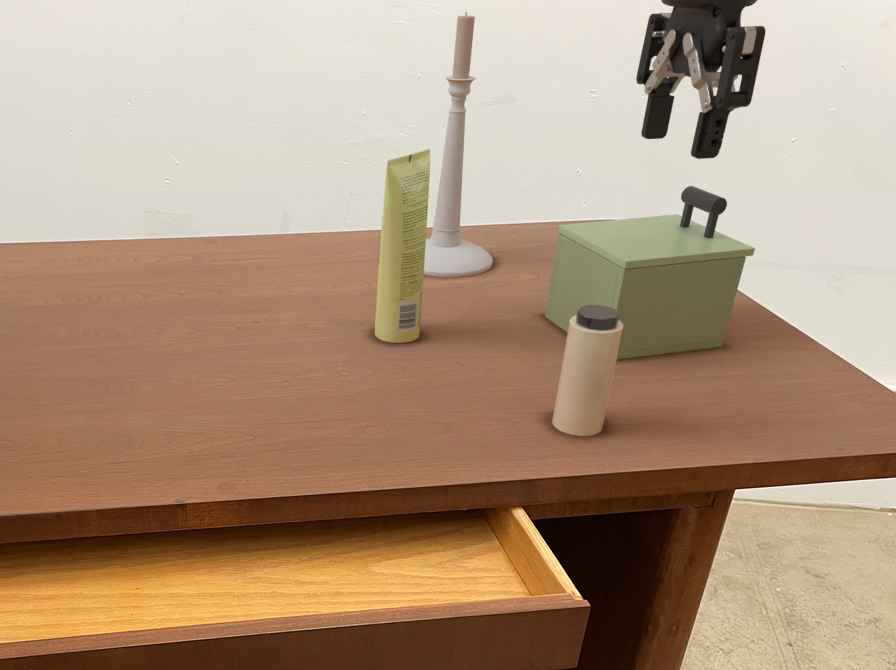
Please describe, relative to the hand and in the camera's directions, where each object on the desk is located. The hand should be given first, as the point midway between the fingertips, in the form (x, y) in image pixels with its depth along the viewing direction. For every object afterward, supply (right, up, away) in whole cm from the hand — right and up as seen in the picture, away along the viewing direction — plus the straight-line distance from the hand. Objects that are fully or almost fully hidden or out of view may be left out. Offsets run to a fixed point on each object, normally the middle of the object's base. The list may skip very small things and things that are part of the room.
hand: (677, 147), depth 83 cm
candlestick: (-13, -1, +40) cm, 42 cm away
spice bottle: (-9, -25, +1) cm, 27 cm away
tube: (-22, -14, +19) cm, 33 cm away
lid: (+4, -5, +14) cm, 15 cm away
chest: (+3, -14, +19) cm, 24 cm away
